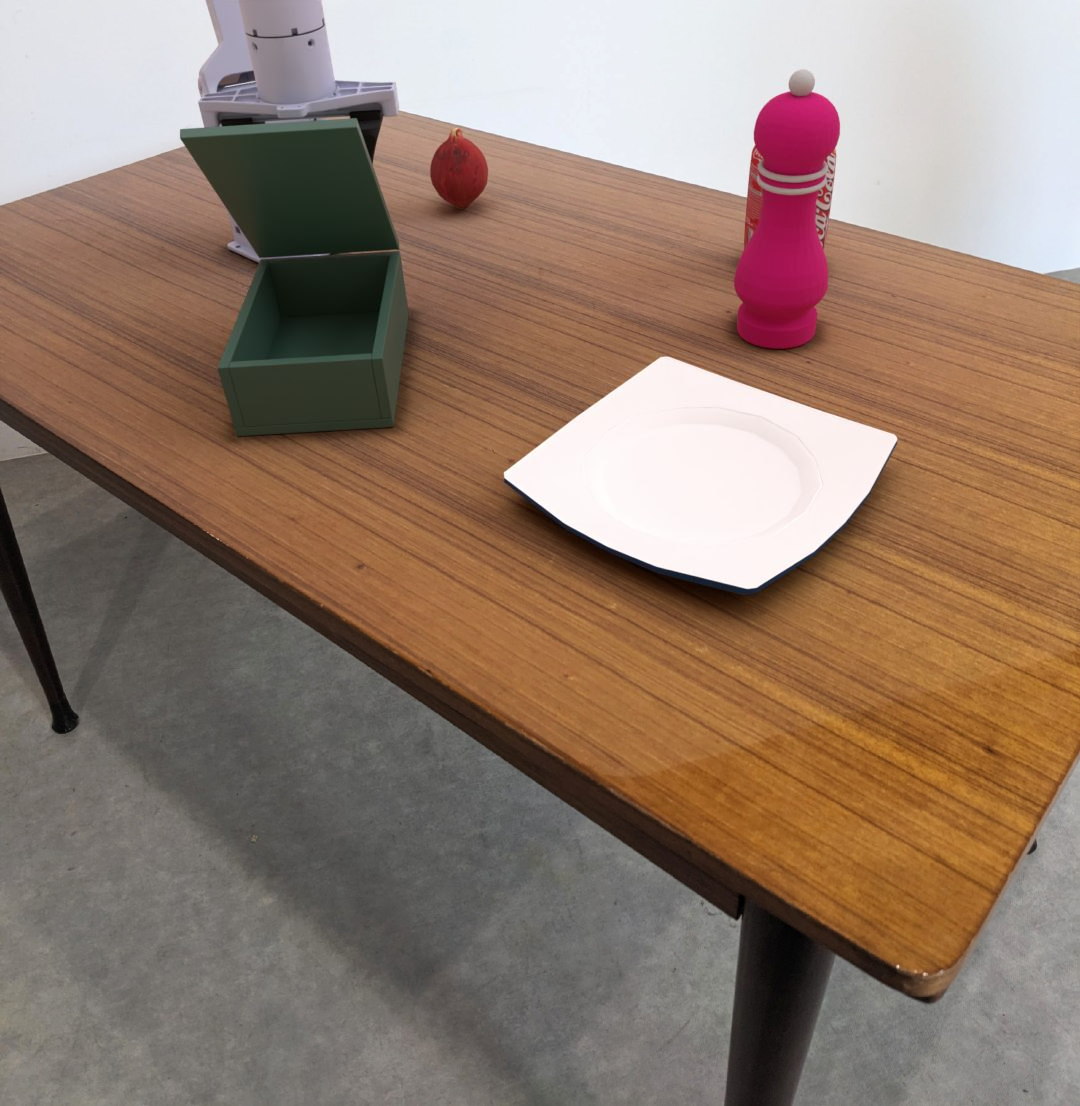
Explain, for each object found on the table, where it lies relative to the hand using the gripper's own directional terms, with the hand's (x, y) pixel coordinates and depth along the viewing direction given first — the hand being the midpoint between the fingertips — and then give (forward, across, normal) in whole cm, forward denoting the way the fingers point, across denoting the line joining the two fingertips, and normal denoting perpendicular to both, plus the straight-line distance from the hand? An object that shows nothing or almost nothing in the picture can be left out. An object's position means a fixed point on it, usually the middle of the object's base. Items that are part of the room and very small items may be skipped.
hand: (320, 211), depth 84 cm
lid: (-3, 0, -6) cm, 7 cm away
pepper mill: (+10, +36, -6) cm, 38 cm away
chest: (+10, 0, -8) cm, 13 cm away
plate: (+10, +27, -27) cm, 39 cm away
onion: (+10, +10, +23) cm, 27 cm away
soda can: (+10, +39, +5) cm, 40 cm away
